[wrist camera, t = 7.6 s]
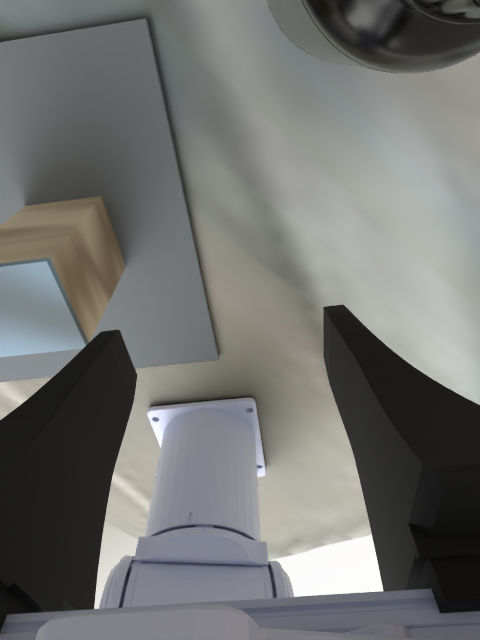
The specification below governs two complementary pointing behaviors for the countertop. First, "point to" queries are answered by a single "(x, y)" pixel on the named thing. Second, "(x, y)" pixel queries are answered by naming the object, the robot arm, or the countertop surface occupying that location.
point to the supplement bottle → (383, 31)
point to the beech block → (56, 275)
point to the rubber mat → (106, 182)
